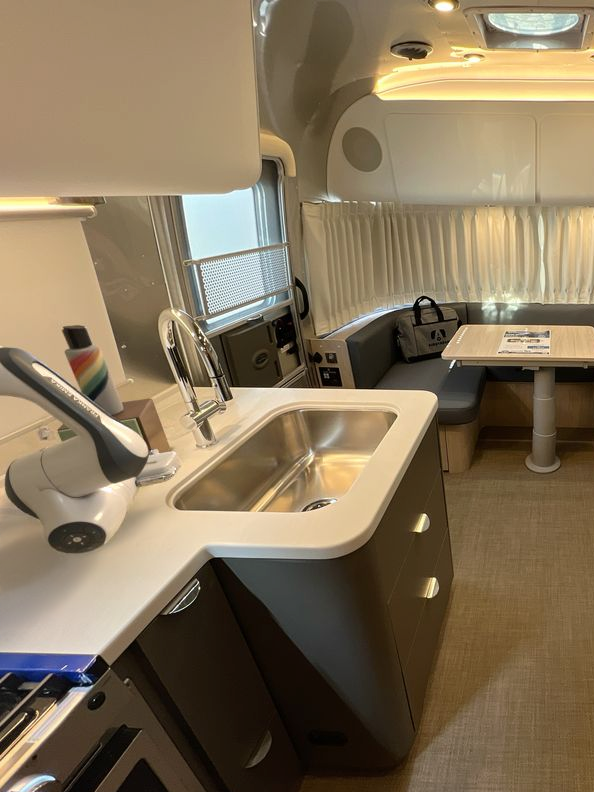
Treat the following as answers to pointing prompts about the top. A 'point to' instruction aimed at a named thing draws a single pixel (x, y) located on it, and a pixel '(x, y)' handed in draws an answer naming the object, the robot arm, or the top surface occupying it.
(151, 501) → the top surface
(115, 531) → the robot arm
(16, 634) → the top surface
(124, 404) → the cabinet
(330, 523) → the top surface
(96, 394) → the lotion bottle
